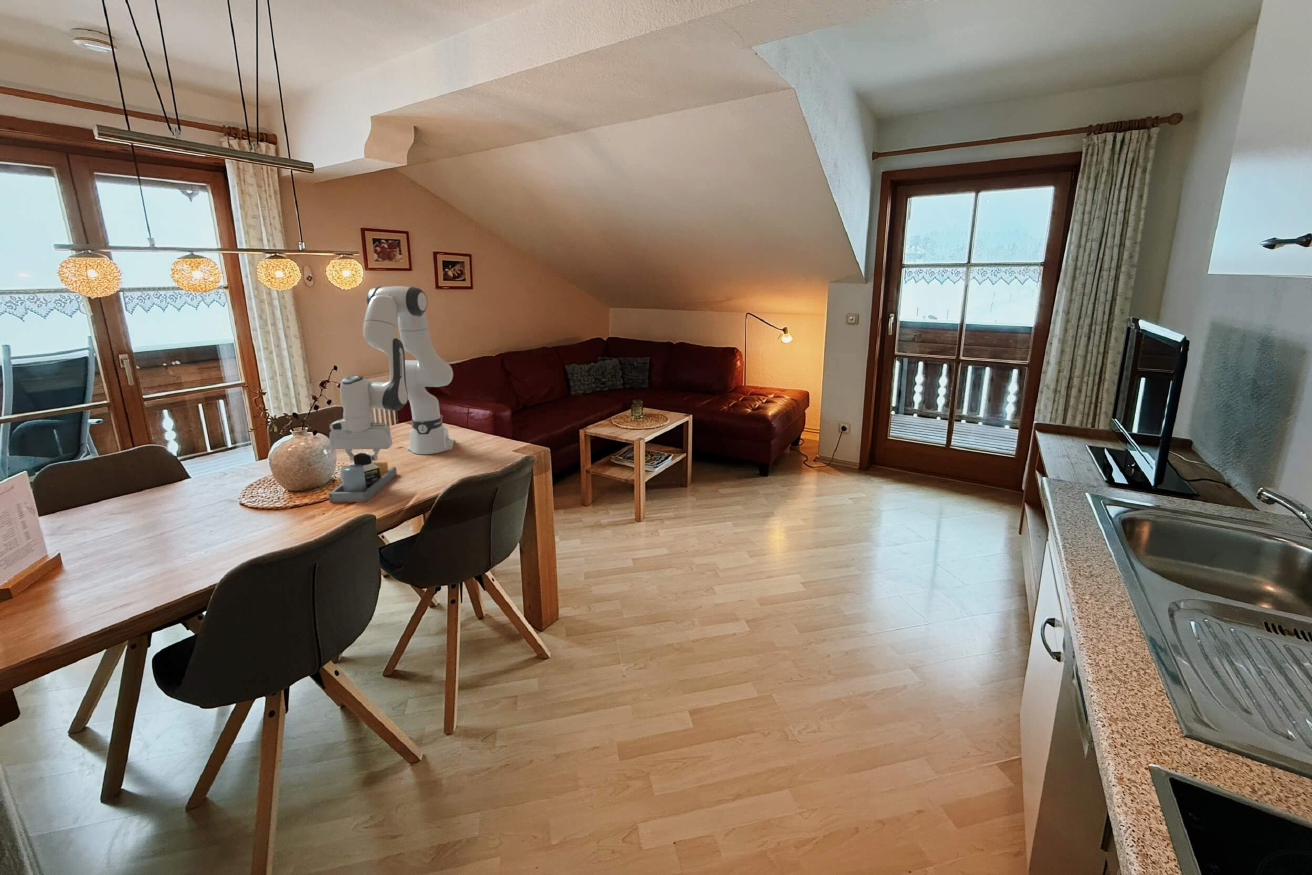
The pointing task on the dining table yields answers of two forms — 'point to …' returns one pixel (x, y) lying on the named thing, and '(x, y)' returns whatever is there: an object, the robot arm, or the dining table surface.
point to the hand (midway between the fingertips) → (364, 460)
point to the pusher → (382, 467)
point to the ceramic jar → (353, 478)
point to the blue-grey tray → (342, 496)
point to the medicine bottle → (367, 468)
